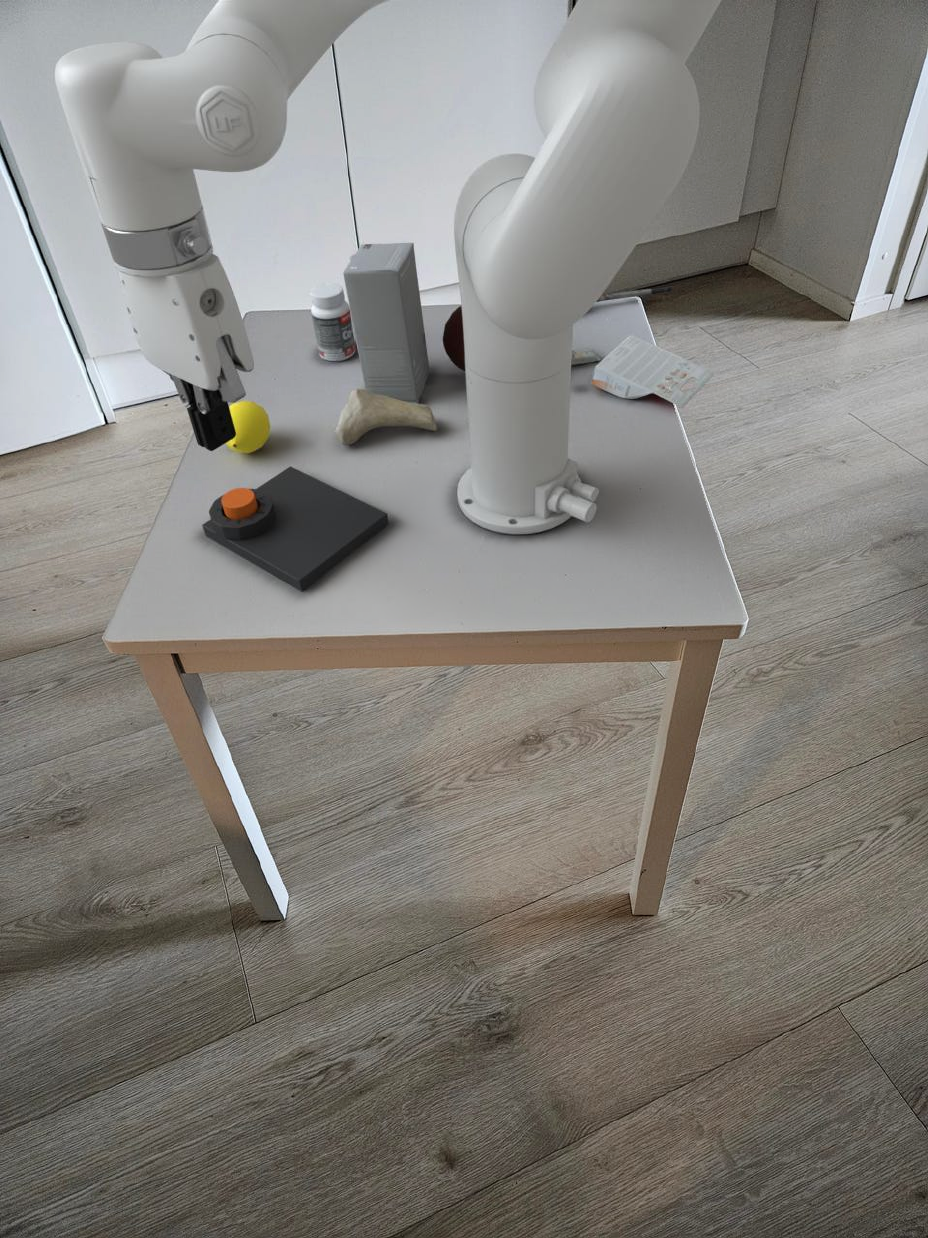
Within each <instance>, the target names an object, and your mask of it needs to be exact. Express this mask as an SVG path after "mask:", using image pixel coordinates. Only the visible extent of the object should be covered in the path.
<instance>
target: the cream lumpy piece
mask: <svg viewBox="0 0 928 1238" xmlns="http://www.w3.org/2000/svg"><path fill="white" fill-rule="evenodd" d="M348 396H349V397H348V401H347V403H346V404H345V406H344V407H343V409H342V410H341V412H340V415H339V417H338V422H337V426H336V428H335V431H334V434H335V435H336V437H337V439H338V441H339V442H340V444H342V445H344V446H351V445H352V444H354V443H356V442H357V441H358V440H360V439H361V437H362V436H364V435H365V434H366V433H367V432H370V431H371V430H373V429H377V428H381V427H413V428H418V429H423V430H428V431H433V432H437V428H438V426H437V423H436V418H435V416H434V414H433V411H432V409H431V407H429V405H426V404H422V403H409V402H405V401H401V400H398V399H393V398H390V397H386V396H381V395H378V394H375V393H372V392H369V391H367V390H365V388H354V389H353V390H352V391H351V392H350V394H349V395H348Z"/></svg>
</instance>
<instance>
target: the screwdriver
mask: <svg viewBox="0 0 928 1238" xmlns="http://www.w3.org/2000/svg"><path fill="white" fill-rule="evenodd" d="M672 291H673V286H665V287H664V286H663V287H656V288H646V289H645V288H644V289H638V290H631V291H622V292H615V293H607V294H602V295H601V296H600V297H599V299H598V300H597V301H596V302H595V303H599V302H606V301H612V300H613V301H614V300H619V299H620V300H621V299H626V298H627V299H628V298H634V297H643V296H649V295H650V296H651V295H653V294H662V293H668V292H672Z"/></svg>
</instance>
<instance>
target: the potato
mask: <svg viewBox="0 0 928 1238" xmlns="http://www.w3.org/2000/svg"><path fill="white" fill-rule="evenodd" d="M442 334H443V335H442V344H443V348H444V351H445V354H446V355H447V357H448V359H449V360H450V361H451V363H452V364H453V365H454V366H455V367H456V368H458V369H459V370H460V371H462V372H464V373H466V371H465V348H464V332H463V318H462V306H461V305H460V306H458V307H457V308H456V309H455V310H454V311H452V313H451V314H450V317H449V318H448V320H447V321H446V322H445V323H444V328H443V333H442Z"/></svg>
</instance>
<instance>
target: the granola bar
mask: <svg viewBox="0 0 928 1238" xmlns="http://www.w3.org/2000/svg"><path fill="white" fill-rule="evenodd" d="M597 361H598V362H601V361H602V359H601V357H600V356H599V355H598V354H597V353H596V352H595V351H594V349H592V348H582V349H572V359H571V366H572V365H573V366H574V365H582V364H589V363H593V362H597Z"/></svg>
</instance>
